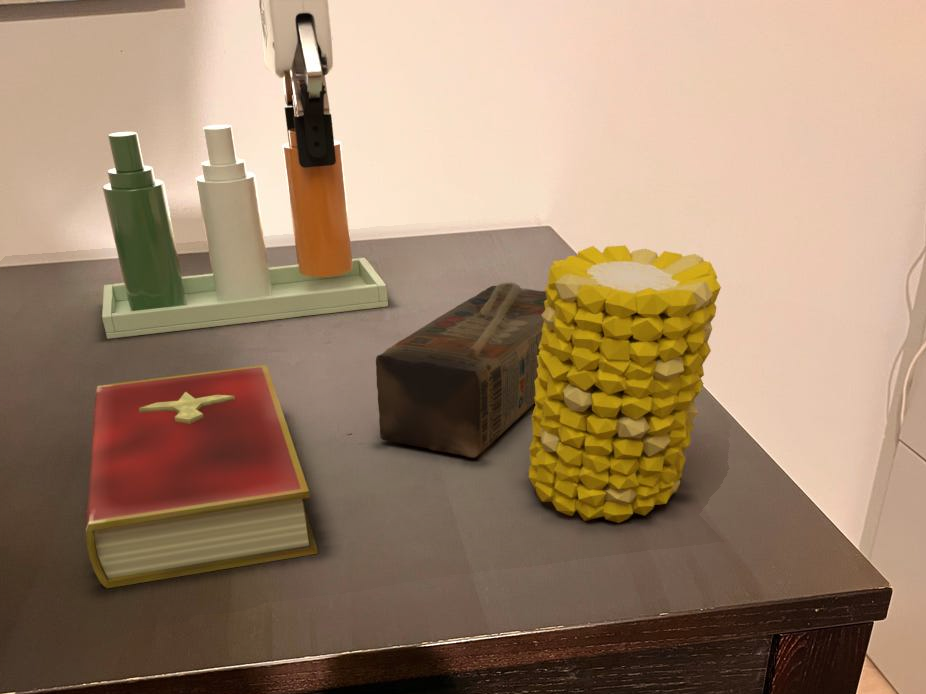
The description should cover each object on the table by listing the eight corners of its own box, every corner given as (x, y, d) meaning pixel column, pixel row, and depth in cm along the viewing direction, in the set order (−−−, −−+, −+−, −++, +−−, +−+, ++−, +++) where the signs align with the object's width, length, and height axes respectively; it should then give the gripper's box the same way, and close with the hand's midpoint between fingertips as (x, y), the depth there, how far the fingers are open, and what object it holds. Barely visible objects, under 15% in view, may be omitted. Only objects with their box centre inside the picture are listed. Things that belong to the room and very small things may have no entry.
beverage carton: (581, 368, 80) (584, 283, 77) (480, 465, 66) (477, 368, 62) (490, 356, 83) (488, 274, 79) (375, 447, 69) (366, 353, 65)
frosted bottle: (207, 301, 97) (175, 128, 88) (253, 289, 100) (226, 120, 91) (237, 312, 94) (207, 133, 85) (283, 299, 96) (259, 125, 88)
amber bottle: (287, 270, 97) (264, 95, 89) (331, 259, 100) (312, 88, 92) (320, 280, 94) (299, 99, 86) (364, 268, 97) (347, 92, 88)
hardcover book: (98, 589, 55) (78, 521, 52) (105, 439, 72) (90, 382, 69) (317, 553, 57) (308, 486, 55) (274, 416, 74) (266, 360, 72)
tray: (107, 339, 90) (101, 316, 89) (108, 305, 98) (103, 284, 97) (388, 306, 95) (386, 285, 94) (366, 277, 104) (365, 257, 103)
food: (574, 471, 69) (706, 518, 64) (467, 499, 60) (611, 557, 55) (622, 233, 62) (773, 265, 57) (510, 226, 53) (678, 263, 48)
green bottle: (121, 311, 95) (80, 135, 86) (170, 298, 98) (135, 127, 89) (148, 322, 92) (109, 141, 83) (198, 309, 95) (165, 132, 86)
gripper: (228, -83, 87) (261, 148, 98) (248, -88, 74) (283, 181, 84) (315, -85, 89) (337, 142, 99) (349, -91, 75) (371, 173, 86)
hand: (312, 157), depth 91 cm, fingers closed on amber bottle, 5 cm apart
